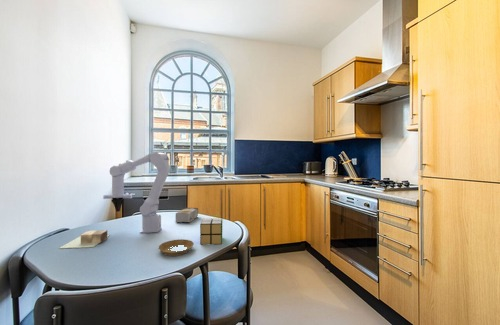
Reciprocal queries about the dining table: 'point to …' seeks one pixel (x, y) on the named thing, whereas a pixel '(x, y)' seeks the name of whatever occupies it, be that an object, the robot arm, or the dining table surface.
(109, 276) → the dining table surface
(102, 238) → the birch block
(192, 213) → the coffee box
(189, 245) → the plant saucer
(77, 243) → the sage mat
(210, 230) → the puzzle cube
